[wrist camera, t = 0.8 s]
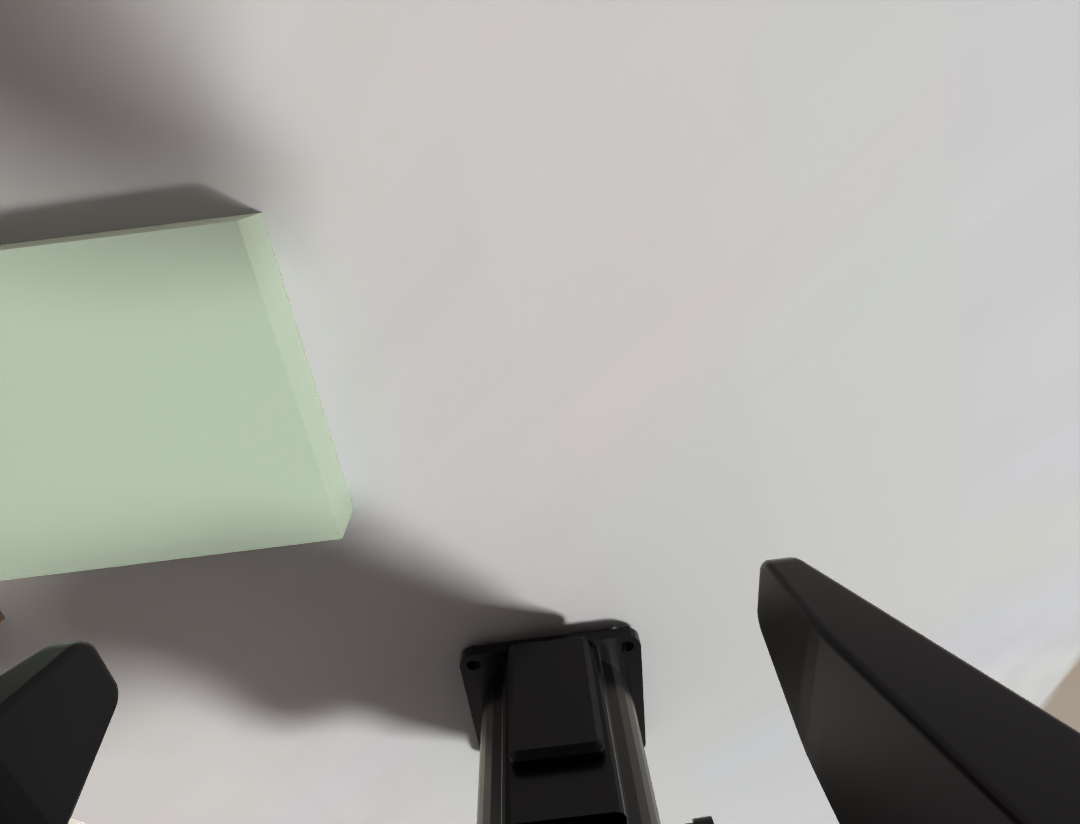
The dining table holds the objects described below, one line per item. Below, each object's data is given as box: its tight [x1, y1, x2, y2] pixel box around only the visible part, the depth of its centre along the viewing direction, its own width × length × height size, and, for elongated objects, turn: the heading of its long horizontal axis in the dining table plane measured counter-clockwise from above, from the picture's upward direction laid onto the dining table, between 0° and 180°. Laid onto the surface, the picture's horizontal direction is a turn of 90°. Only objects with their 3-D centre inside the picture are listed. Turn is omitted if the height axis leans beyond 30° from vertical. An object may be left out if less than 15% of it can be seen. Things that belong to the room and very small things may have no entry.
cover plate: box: [0, 212, 354, 581], centre depth 16 cm, size 9×11×2 cm
